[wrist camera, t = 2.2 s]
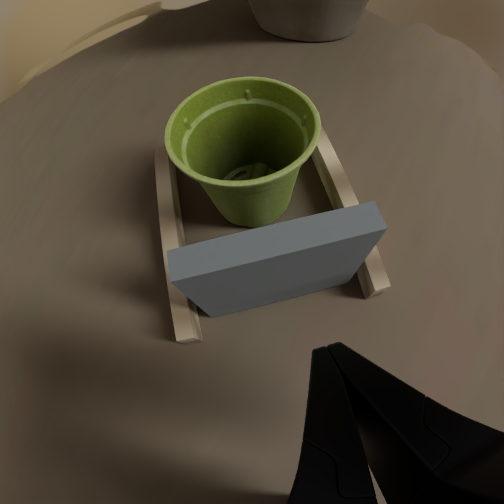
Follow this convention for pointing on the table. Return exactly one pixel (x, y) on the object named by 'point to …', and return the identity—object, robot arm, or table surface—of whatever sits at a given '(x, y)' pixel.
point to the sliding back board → (276, 259)
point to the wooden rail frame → (173, 237)
